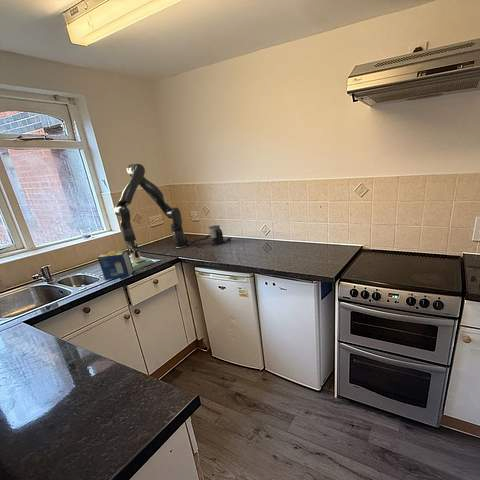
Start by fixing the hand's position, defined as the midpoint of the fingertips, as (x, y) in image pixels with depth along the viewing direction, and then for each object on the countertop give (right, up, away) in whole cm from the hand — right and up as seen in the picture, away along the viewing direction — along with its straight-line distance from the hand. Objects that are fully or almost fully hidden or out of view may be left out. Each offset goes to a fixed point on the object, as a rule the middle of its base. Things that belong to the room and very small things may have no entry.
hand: (135, 256), depth 218 cm
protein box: (-2, -14, -19) cm, 23 cm away
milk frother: (+58, +13, +33) cm, 68 cm away
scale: (+2, -5, +1) cm, 6 cm away
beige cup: (0, -2, +1) cm, 2 cm away
